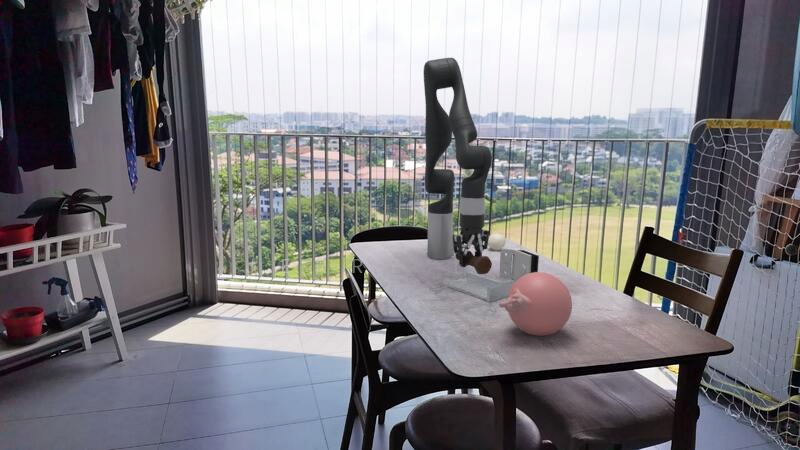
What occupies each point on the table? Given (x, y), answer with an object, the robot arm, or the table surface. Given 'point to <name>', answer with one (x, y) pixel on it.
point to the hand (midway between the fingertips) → (470, 264)
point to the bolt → (478, 262)
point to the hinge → (517, 263)
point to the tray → (480, 286)
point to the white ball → (496, 241)
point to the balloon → (538, 304)
